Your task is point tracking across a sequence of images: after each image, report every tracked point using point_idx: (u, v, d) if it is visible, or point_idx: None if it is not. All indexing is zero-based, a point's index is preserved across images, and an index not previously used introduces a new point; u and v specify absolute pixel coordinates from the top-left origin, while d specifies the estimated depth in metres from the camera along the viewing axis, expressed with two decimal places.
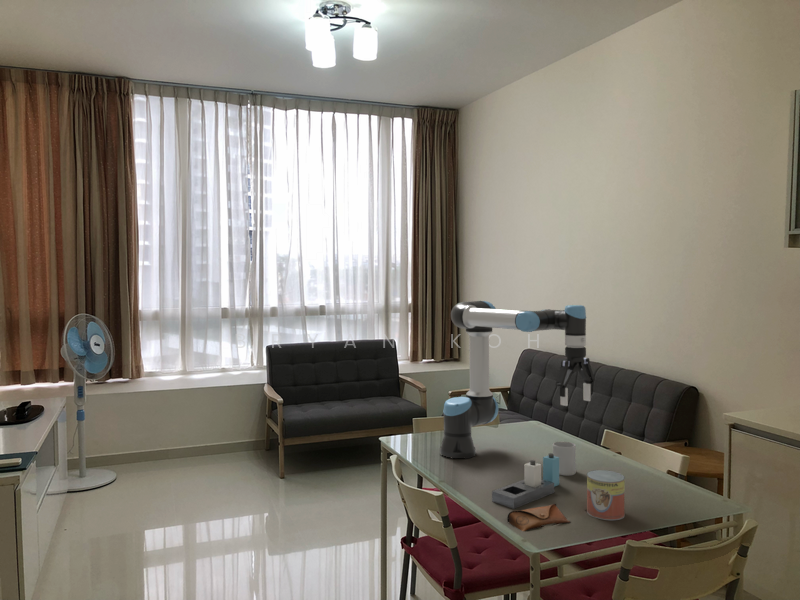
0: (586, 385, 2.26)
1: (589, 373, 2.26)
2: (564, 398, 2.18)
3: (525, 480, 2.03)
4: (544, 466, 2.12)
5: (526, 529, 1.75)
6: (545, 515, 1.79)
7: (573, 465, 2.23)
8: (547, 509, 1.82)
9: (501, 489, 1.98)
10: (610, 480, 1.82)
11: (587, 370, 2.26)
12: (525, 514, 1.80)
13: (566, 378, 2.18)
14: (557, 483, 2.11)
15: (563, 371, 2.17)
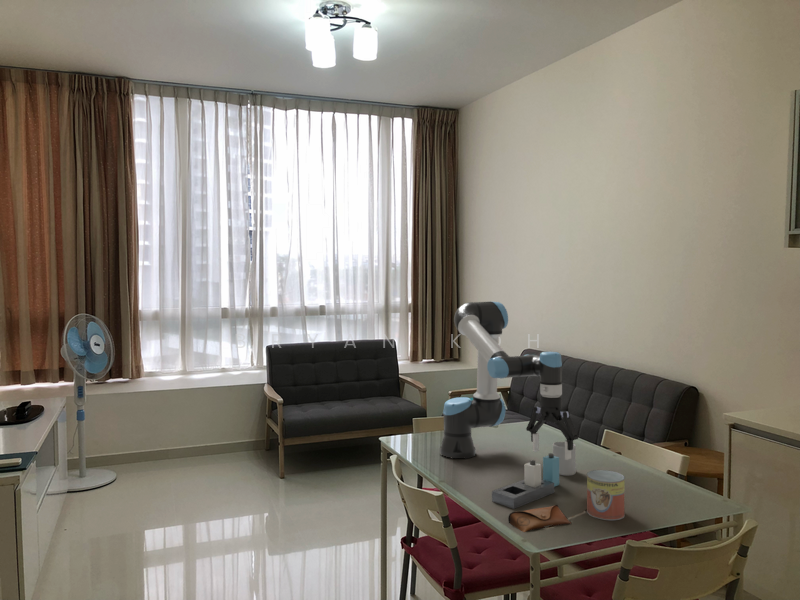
0: None
1: None
2: None
3: (525, 480, 2.03)
4: (544, 466, 2.12)
5: (527, 530, 1.74)
6: (546, 516, 1.79)
7: (573, 465, 2.23)
8: (548, 510, 1.81)
9: (501, 489, 1.98)
10: (610, 480, 1.82)
11: None
12: (526, 515, 1.79)
13: None
14: (557, 483, 2.11)
15: None
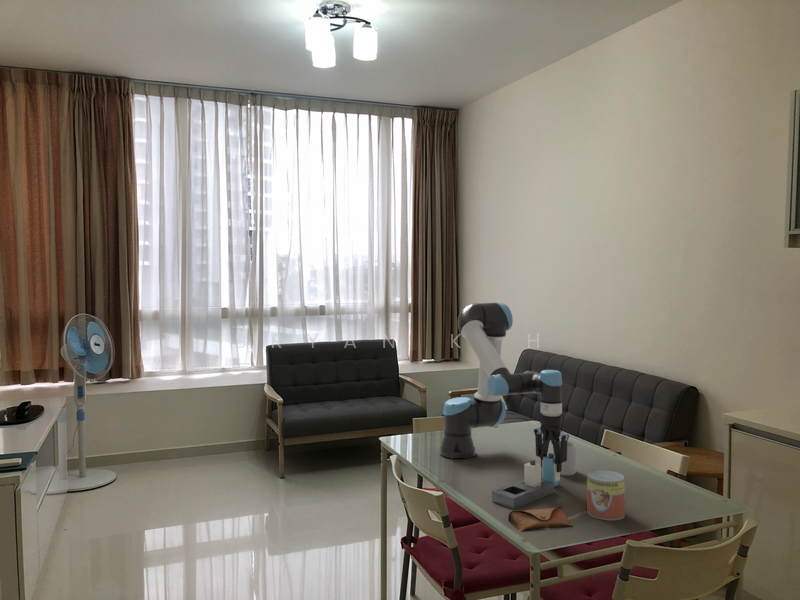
0: None
1: None
2: None
3: (525, 480, 2.03)
4: (544, 466, 2.12)
5: (524, 529, 1.74)
6: (546, 517, 1.78)
7: (573, 465, 2.23)
8: (550, 511, 1.80)
9: (501, 489, 1.98)
10: (610, 480, 1.82)
11: None
12: (526, 515, 1.79)
13: None
14: (557, 483, 2.11)
15: None
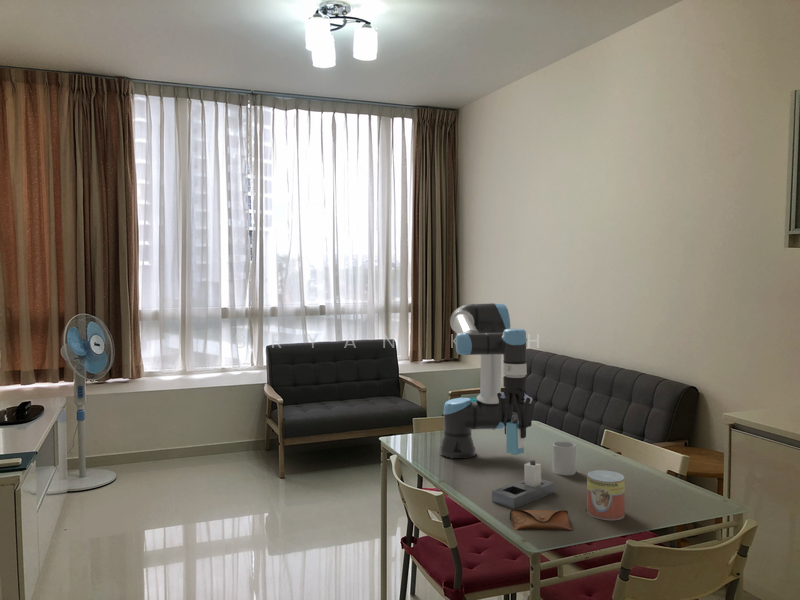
0: None
1: None
2: None
3: (525, 480, 2.03)
4: (507, 432, 1.96)
5: (519, 528, 1.75)
6: (545, 518, 1.77)
7: (573, 465, 2.23)
8: (551, 513, 1.79)
9: (501, 489, 1.98)
10: (610, 480, 1.82)
11: None
12: (525, 514, 1.80)
13: None
14: (521, 450, 1.96)
15: None
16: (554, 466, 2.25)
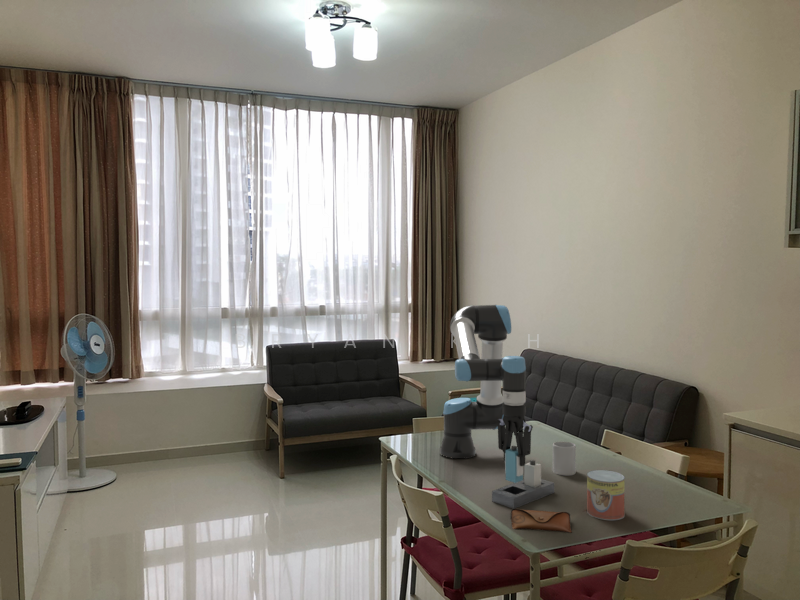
0: None
1: None
2: None
3: (525, 480, 2.03)
4: (507, 460, 1.96)
5: (517, 527, 1.76)
6: (544, 519, 1.76)
7: (573, 465, 2.23)
8: (551, 514, 1.78)
9: (501, 489, 1.98)
10: (610, 480, 1.82)
11: None
12: (525, 514, 1.80)
13: None
14: (520, 478, 1.96)
15: None
16: (554, 466, 2.25)
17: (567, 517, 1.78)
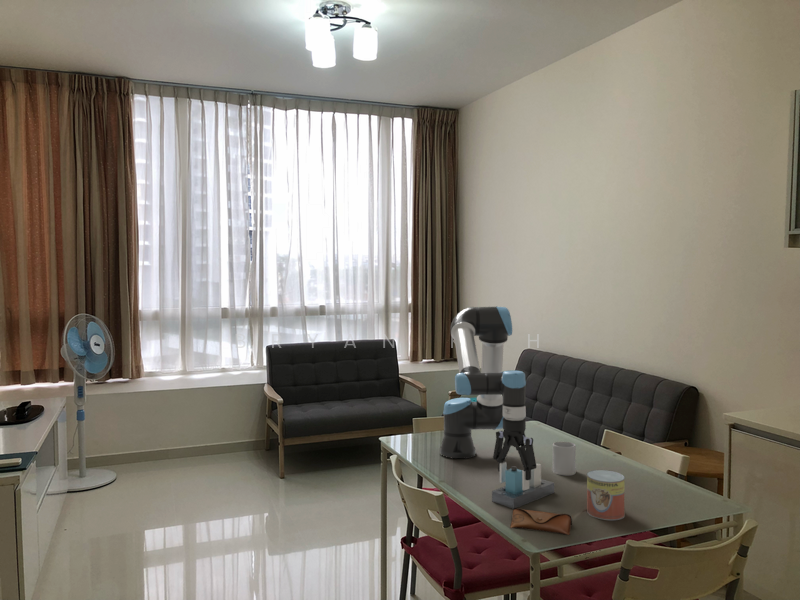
0: None
1: None
2: None
3: None
4: (506, 480, 1.97)
5: (514, 526, 1.77)
6: (543, 520, 1.76)
7: (573, 465, 2.23)
8: (550, 516, 1.77)
9: (501, 489, 1.98)
10: (610, 480, 1.82)
11: None
12: (525, 514, 1.80)
13: None
14: None
15: None
16: (554, 466, 2.25)
17: (567, 519, 1.76)
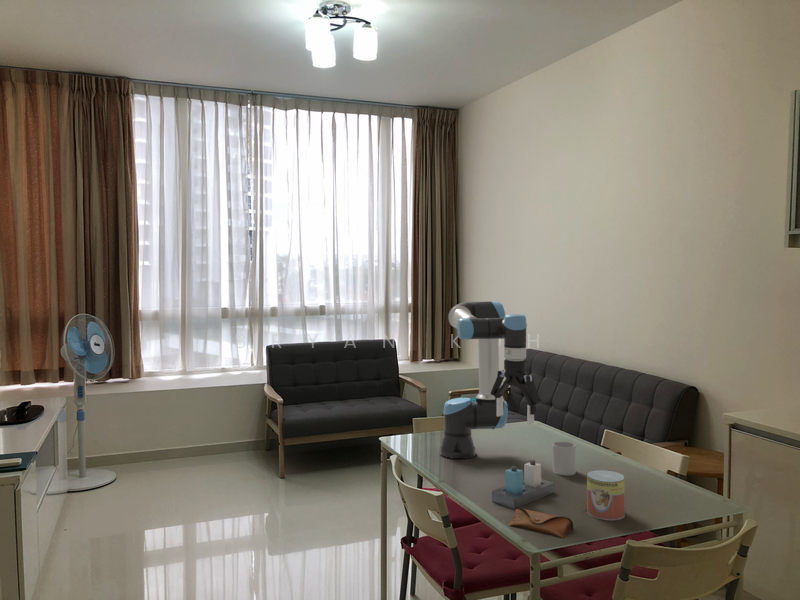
0: None
1: None
2: None
3: (525, 480, 2.03)
4: (506, 480, 1.97)
5: (511, 525, 1.78)
6: (539, 521, 1.75)
7: (573, 465, 2.23)
8: (549, 517, 1.76)
9: (501, 489, 1.98)
10: (610, 480, 1.82)
11: None
12: (525, 514, 1.80)
13: None
14: None
15: None
16: (554, 466, 2.25)
17: (566, 523, 1.74)
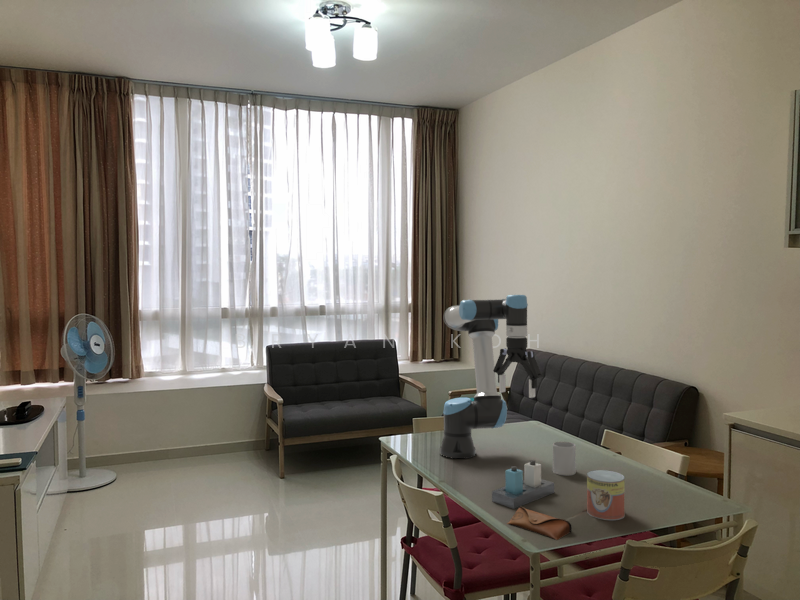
0: None
1: None
2: None
3: (525, 480, 2.03)
4: (506, 480, 1.97)
5: (510, 523, 1.79)
6: (537, 521, 1.75)
7: (573, 465, 2.23)
8: (547, 519, 1.75)
9: (501, 489, 1.98)
10: (610, 480, 1.82)
11: None
12: (526, 513, 1.80)
13: None
14: None
15: None
16: (554, 466, 2.25)
17: (563, 525, 1.72)
